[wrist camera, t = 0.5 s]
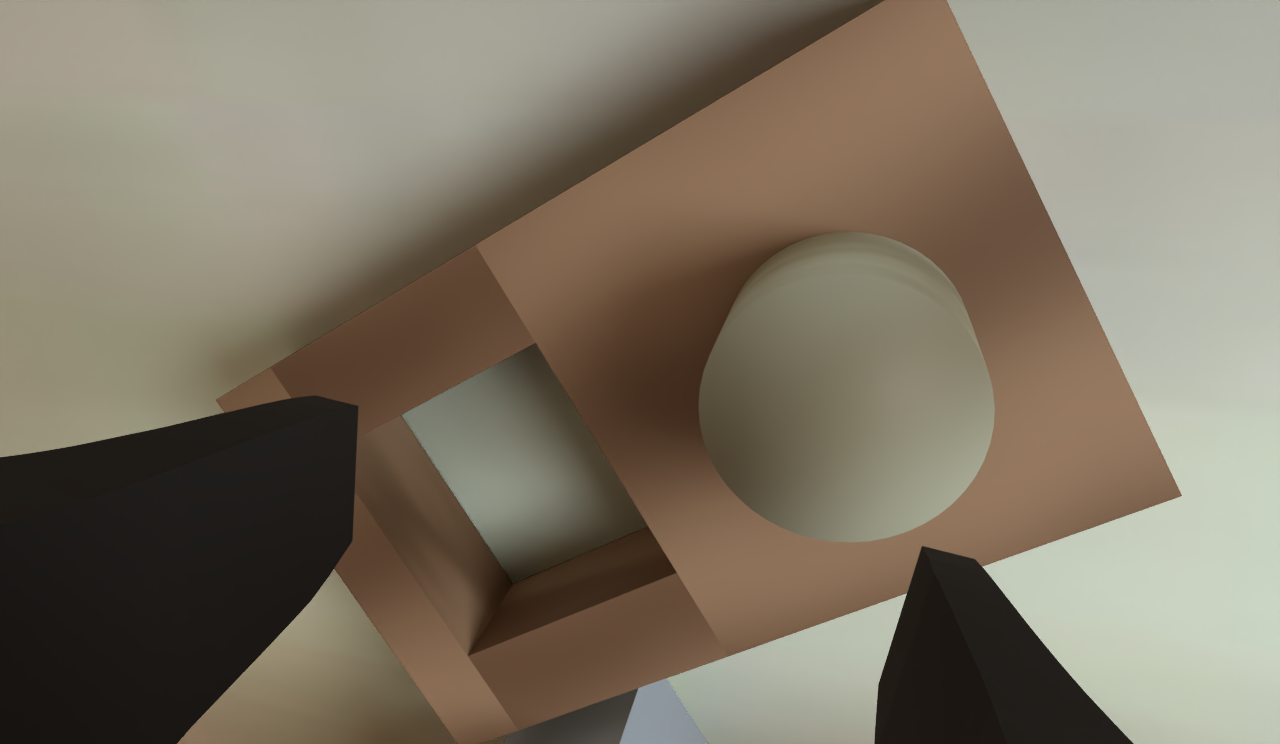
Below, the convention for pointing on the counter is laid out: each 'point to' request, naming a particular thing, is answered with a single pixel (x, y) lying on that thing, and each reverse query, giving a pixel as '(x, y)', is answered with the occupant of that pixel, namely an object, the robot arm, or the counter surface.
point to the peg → (620, 721)
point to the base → (745, 382)
